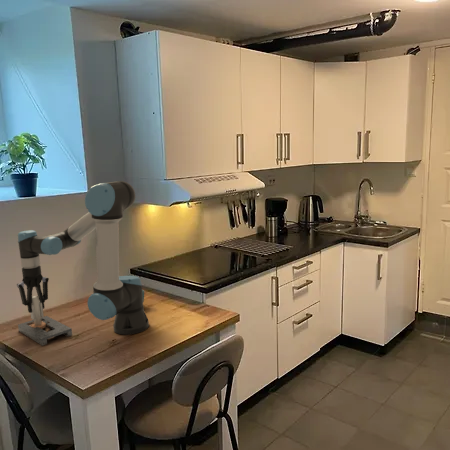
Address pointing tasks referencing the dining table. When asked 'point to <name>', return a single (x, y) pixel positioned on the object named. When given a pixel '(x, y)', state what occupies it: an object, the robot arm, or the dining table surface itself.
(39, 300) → the robot arm
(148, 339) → the dining table surface
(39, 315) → the peg
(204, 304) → the dining table surface
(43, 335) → the keyhole plate
